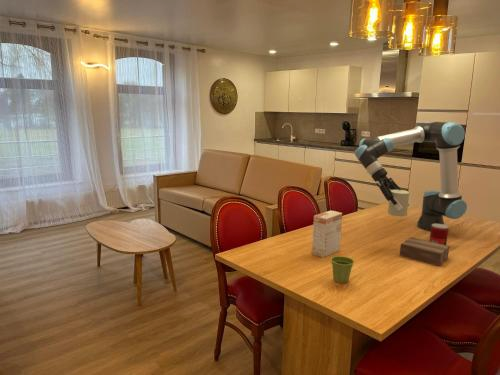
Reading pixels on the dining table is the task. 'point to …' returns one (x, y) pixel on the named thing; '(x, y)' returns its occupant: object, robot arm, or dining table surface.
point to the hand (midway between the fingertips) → (404, 207)
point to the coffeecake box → (326, 233)
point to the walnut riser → (424, 251)
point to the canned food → (439, 233)
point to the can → (402, 199)
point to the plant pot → (341, 268)
